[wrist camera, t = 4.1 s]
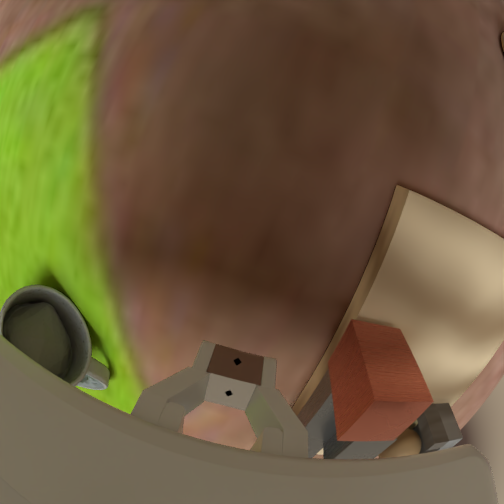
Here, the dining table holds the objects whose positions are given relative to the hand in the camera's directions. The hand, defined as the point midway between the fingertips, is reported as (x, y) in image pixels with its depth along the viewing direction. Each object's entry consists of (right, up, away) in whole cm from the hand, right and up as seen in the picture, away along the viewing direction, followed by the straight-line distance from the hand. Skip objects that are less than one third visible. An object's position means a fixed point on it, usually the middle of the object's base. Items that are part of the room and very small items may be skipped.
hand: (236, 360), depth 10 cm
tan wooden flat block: (+12, -4, +5) cm, 14 cm away
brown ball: (+12, -10, +5) cm, 17 cm away
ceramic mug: (-15, -2, +8) cm, 17 cm away
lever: (+6, -7, +5) cm, 10 cm away
